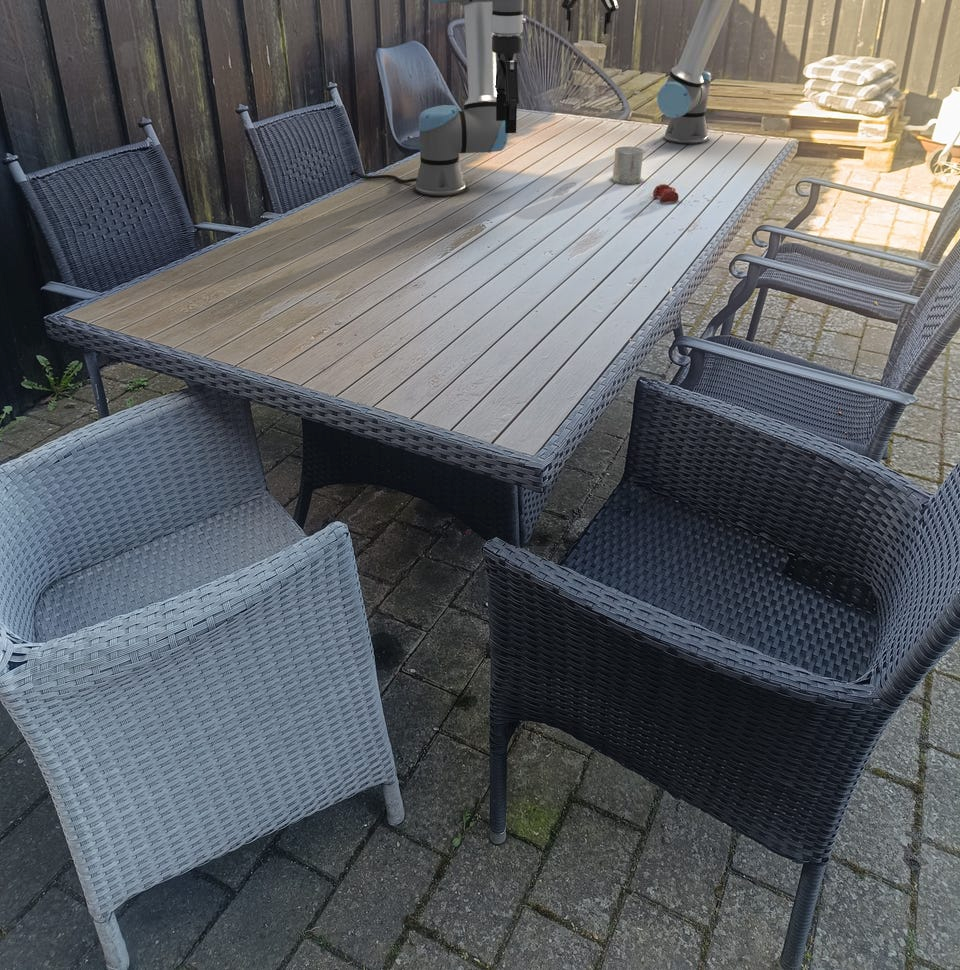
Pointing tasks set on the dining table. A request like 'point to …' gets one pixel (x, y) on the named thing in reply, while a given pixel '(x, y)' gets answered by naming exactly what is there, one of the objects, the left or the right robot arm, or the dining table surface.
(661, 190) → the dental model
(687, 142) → the right robot arm
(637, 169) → the tin
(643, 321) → the dining table surface
